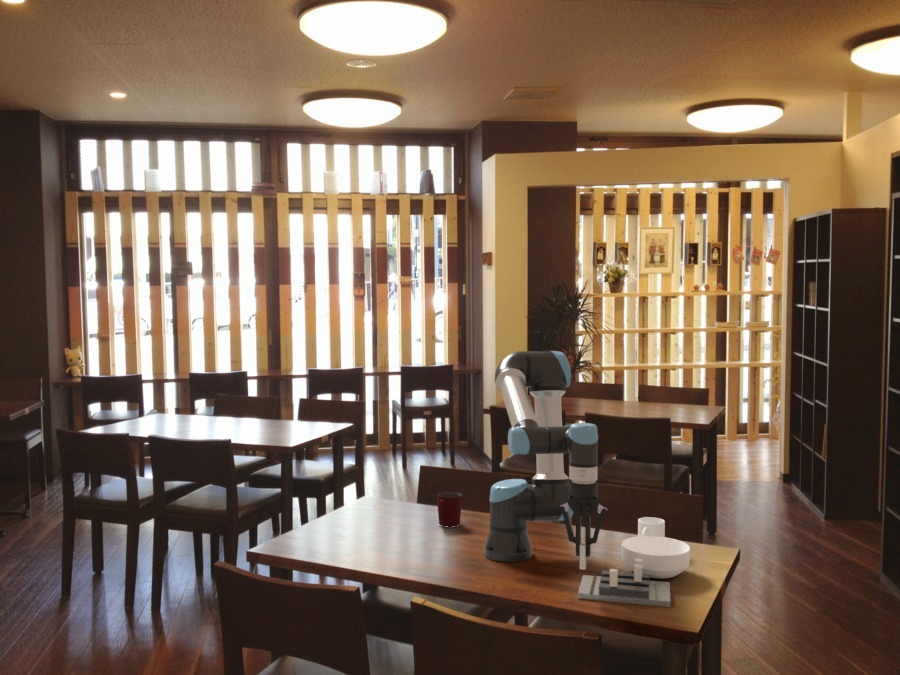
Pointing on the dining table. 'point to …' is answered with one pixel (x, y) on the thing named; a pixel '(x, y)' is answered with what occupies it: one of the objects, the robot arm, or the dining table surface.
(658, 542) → the bowl
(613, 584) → the breaker near
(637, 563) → the breaker far
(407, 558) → the dining table surface
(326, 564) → the dining table surface
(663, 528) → the mug
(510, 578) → the dining table surface
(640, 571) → the block
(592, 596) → the panel
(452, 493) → the mug
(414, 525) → the dining table surface
